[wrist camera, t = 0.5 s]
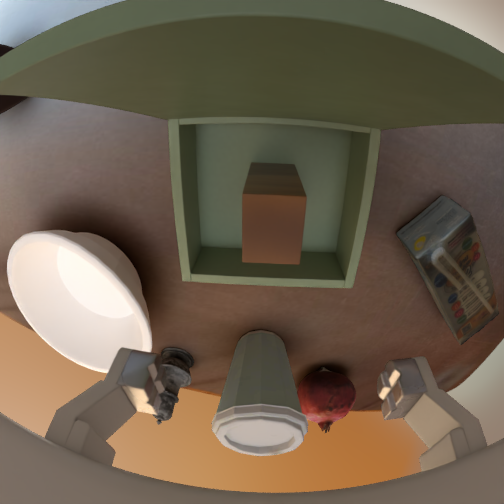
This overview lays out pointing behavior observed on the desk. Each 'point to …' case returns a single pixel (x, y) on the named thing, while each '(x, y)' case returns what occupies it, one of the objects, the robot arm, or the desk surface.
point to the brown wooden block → (273, 214)
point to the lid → (265, 63)
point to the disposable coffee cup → (260, 399)
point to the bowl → (79, 295)
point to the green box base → (232, 185)
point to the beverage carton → (452, 266)
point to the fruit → (326, 397)
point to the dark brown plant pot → (8, 101)
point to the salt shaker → (173, 379)
